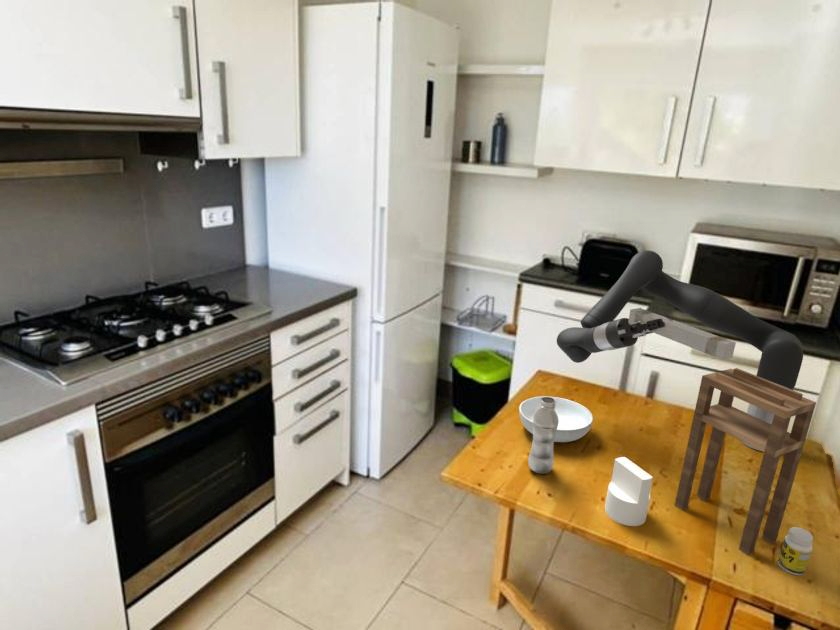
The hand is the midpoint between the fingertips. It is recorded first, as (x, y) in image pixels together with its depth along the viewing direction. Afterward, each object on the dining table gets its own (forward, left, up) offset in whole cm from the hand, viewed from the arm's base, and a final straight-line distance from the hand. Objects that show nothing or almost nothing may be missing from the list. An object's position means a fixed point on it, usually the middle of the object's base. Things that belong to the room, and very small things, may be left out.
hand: (667, 321), depth 132 cm
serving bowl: (+9, -24, -41) cm, 48 cm away
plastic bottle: (+25, -10, -41) cm, 49 cm away
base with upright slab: (+18, +12, -41) cm, 46 cm away
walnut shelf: (0, +24, -41) cm, 47 cm away
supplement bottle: (0, +39, -41) cm, 56 cm away
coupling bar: (0, +3, -3) cm, 5 cm away
